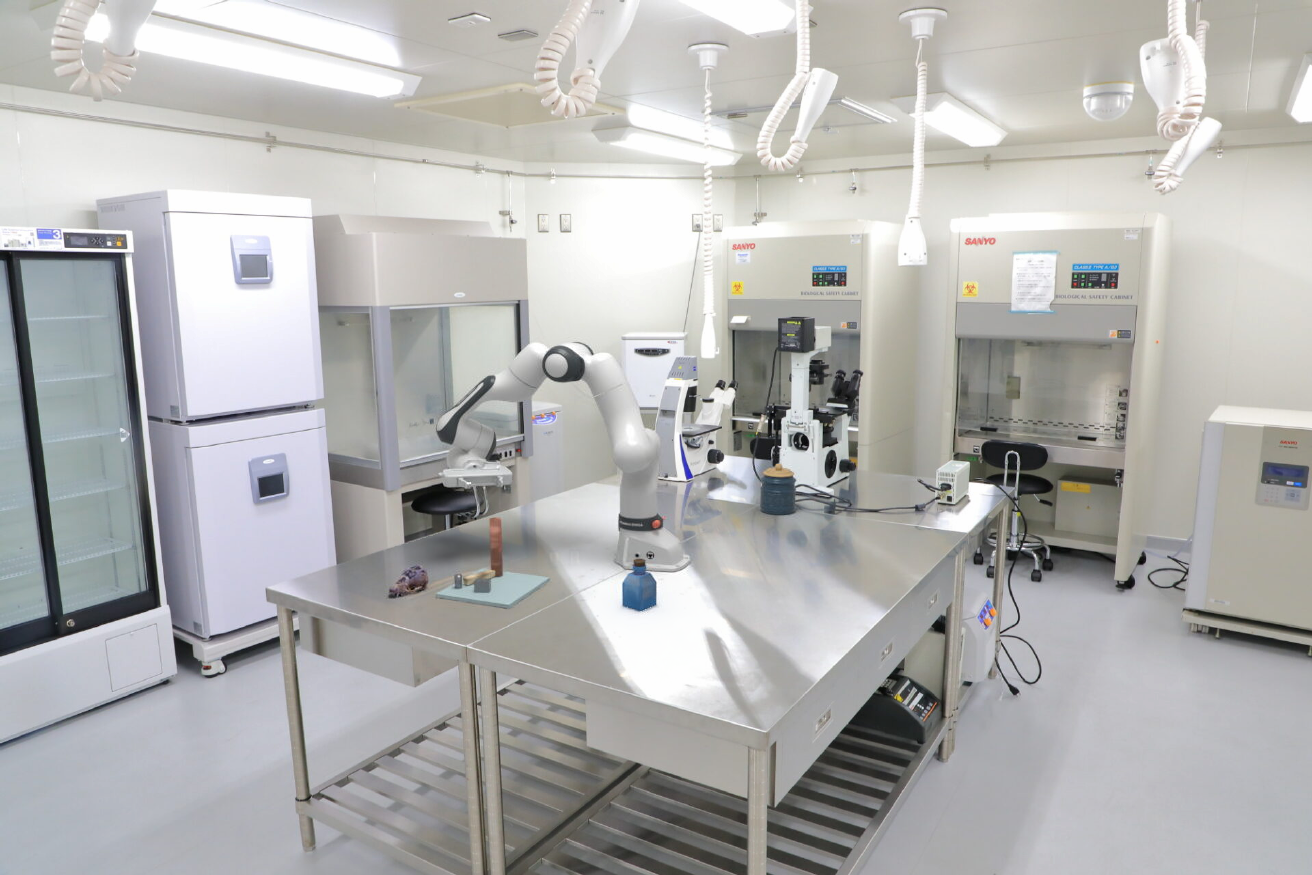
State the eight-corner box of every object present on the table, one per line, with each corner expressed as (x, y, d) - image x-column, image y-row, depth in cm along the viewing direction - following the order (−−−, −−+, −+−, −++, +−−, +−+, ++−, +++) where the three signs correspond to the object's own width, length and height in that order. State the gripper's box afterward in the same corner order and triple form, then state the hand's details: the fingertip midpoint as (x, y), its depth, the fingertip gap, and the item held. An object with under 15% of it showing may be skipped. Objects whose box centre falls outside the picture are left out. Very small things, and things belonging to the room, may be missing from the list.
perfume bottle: (638, 599, 222) (638, 555, 220) (656, 604, 218) (656, 560, 216) (622, 606, 218) (622, 561, 216) (640, 611, 214) (640, 566, 212)
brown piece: (468, 585, 228) (466, 528, 225) (461, 583, 230) (459, 526, 227) (505, 574, 237) (503, 518, 235) (498, 571, 240) (496, 516, 237)
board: (550, 580, 236) (549, 577, 236) (509, 608, 216) (509, 604, 215) (481, 571, 244) (481, 568, 243) (436, 597, 223) (435, 593, 223)
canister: (752, 508, 314) (753, 461, 310) (782, 504, 319) (783, 458, 316) (772, 517, 302) (773, 468, 299) (802, 513, 307) (804, 465, 304)
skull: (397, 600, 221) (396, 578, 220) (379, 594, 226) (378, 572, 225) (434, 588, 231) (433, 566, 230) (416, 582, 235) (415, 560, 234)
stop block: (491, 589, 226) (490, 578, 226) (489, 592, 224) (489, 581, 224) (476, 589, 226) (475, 578, 226) (474, 592, 224) (473, 581, 224)
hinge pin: (464, 590, 228) (463, 574, 228) (459, 592, 227) (459, 576, 226) (457, 589, 229) (457, 573, 228) (453, 591, 227) (452, 575, 226)
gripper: (436, 462, 249) (448, 476, 237) (504, 460, 259) (519, 473, 247) (435, 483, 250) (447, 497, 239) (502, 480, 260) (517, 494, 248)
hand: (484, 485), depth 243 cm, fingers open, 8 cm apart
